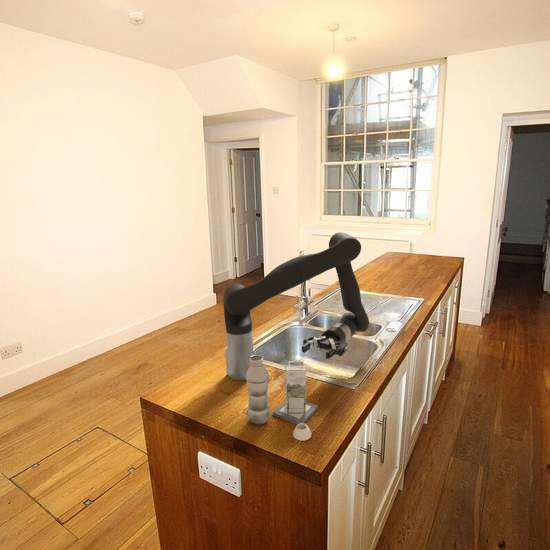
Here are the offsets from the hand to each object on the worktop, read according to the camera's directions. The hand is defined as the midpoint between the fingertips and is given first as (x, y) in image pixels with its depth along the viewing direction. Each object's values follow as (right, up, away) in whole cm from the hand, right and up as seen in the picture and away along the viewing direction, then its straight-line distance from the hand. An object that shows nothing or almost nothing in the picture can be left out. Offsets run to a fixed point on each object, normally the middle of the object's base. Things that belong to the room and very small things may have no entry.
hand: (314, 353), depth 122 cm
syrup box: (-6, -15, -7) cm, 18 cm away
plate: (-7, -16, -7) cm, 19 cm away
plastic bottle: (-17, -18, -11) cm, 27 cm away
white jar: (-5, -19, -17) cm, 27 cm away
